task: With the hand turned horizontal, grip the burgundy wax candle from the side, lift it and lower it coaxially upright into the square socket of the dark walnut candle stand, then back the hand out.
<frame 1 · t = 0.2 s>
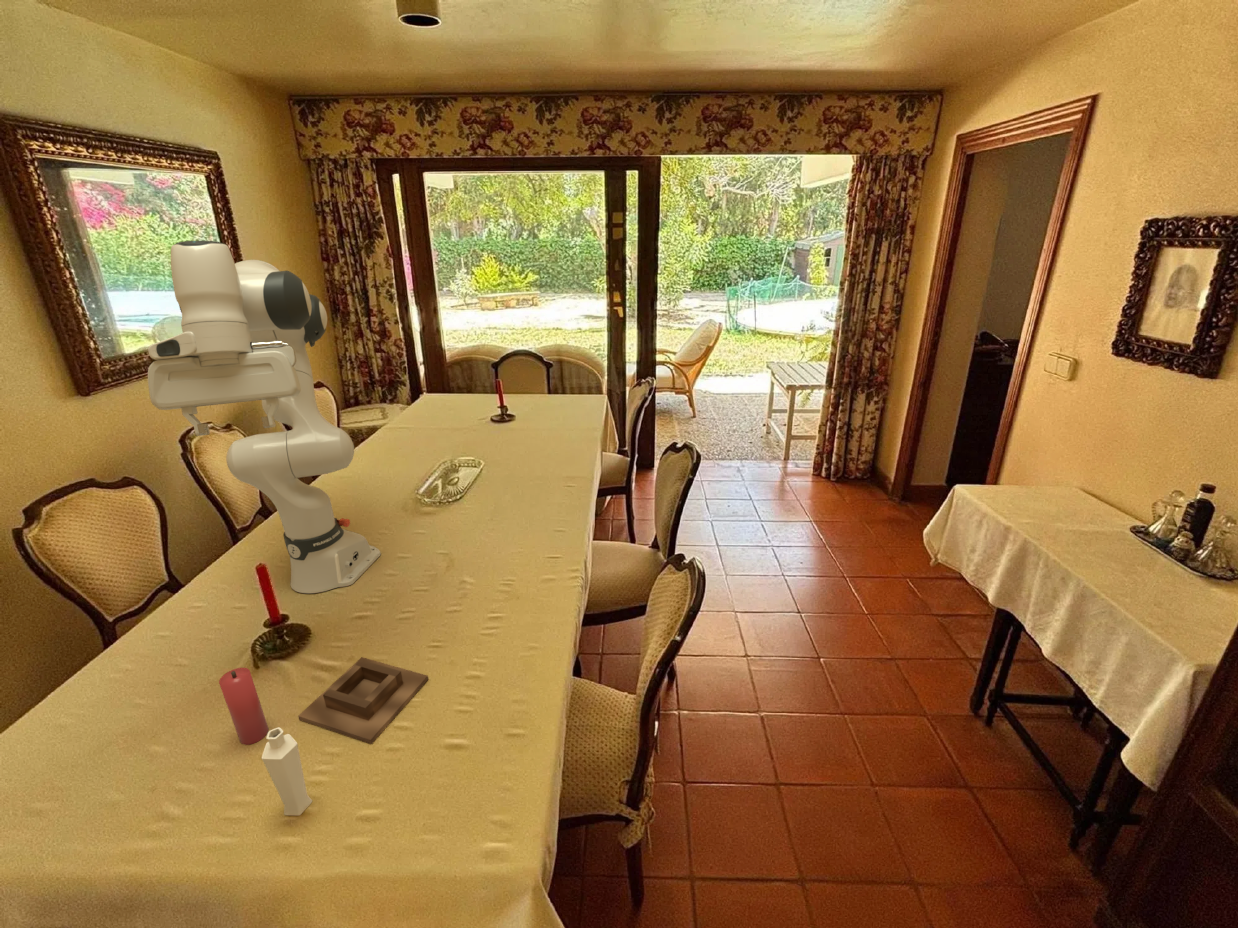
hand: (236, 431, 93), 52 cm above the table, tool tilted 20°, fingers open, 8 cm apart
perfume bottle: (296, 806, 89), on the table
walnut stand: (366, 698, 109), on the table
burgundy candle: (254, 734, 101), on the table
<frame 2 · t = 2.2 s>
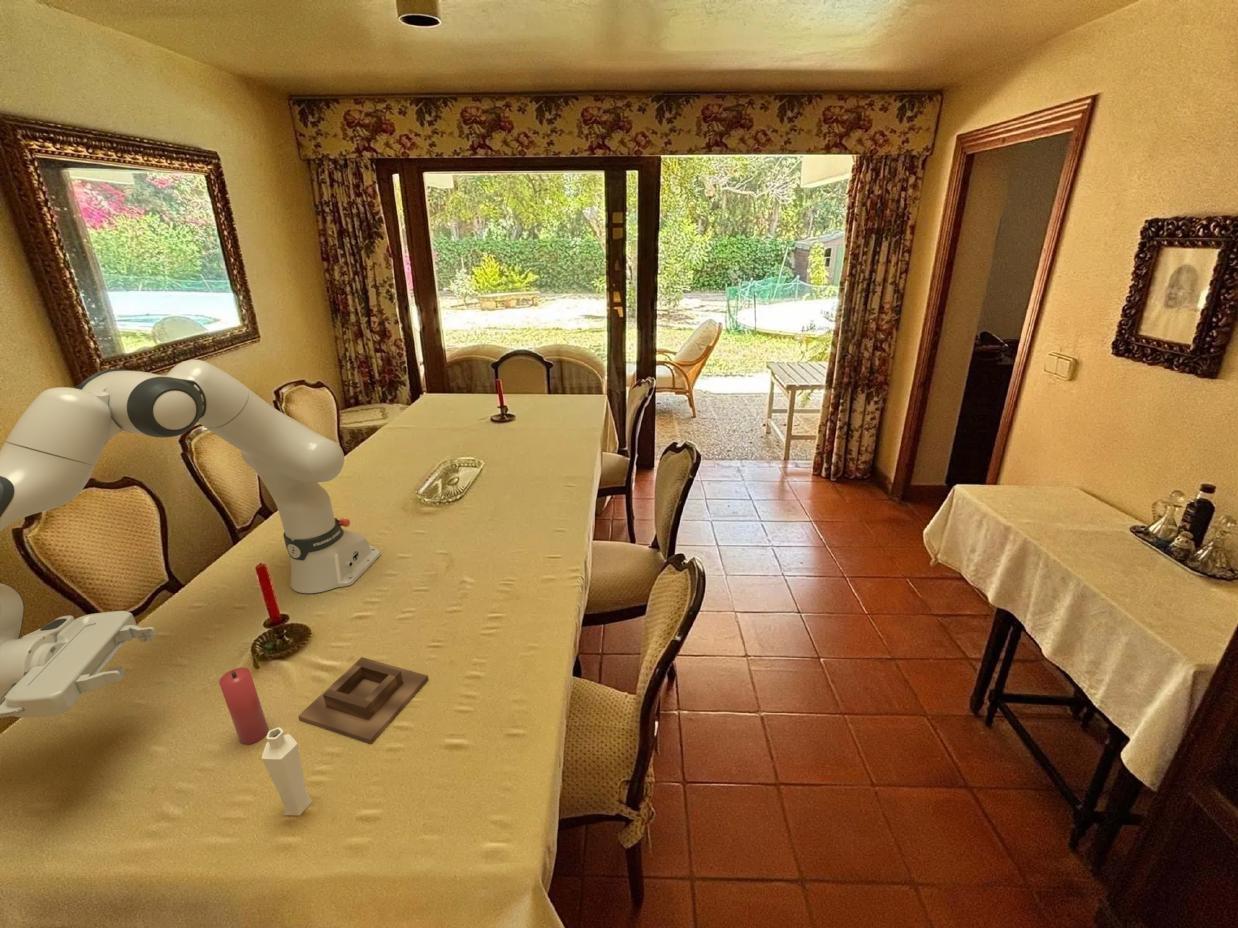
hand: (138, 652, 91), 21 cm above the table, tool horizontal, fingers open, 8 cm apart
nothing on the table moved.
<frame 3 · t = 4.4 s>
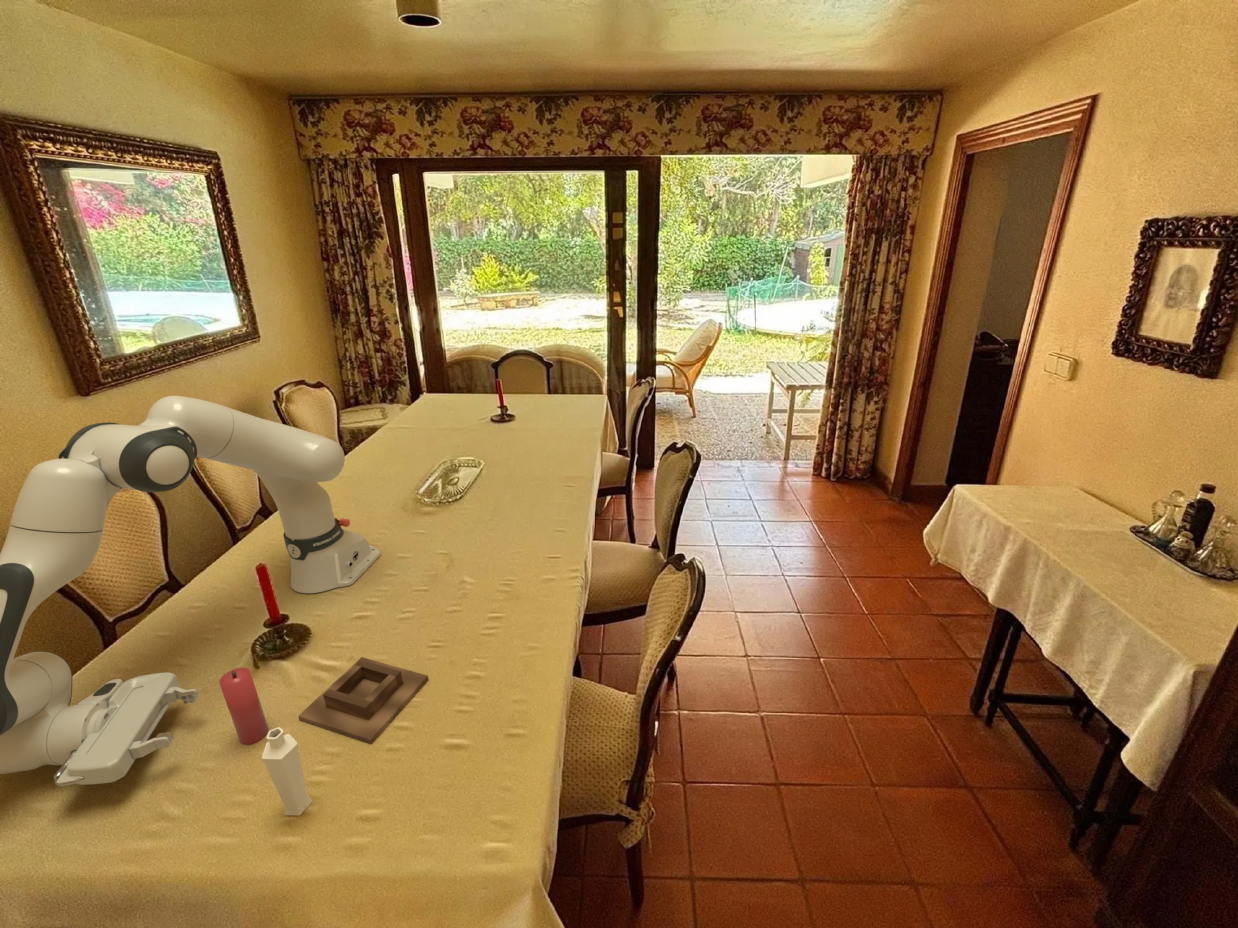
hand: (183, 716, 97), 6 cm above the table, tool horizontal, fingers open, 8 cm apart
nothing on the table moved.
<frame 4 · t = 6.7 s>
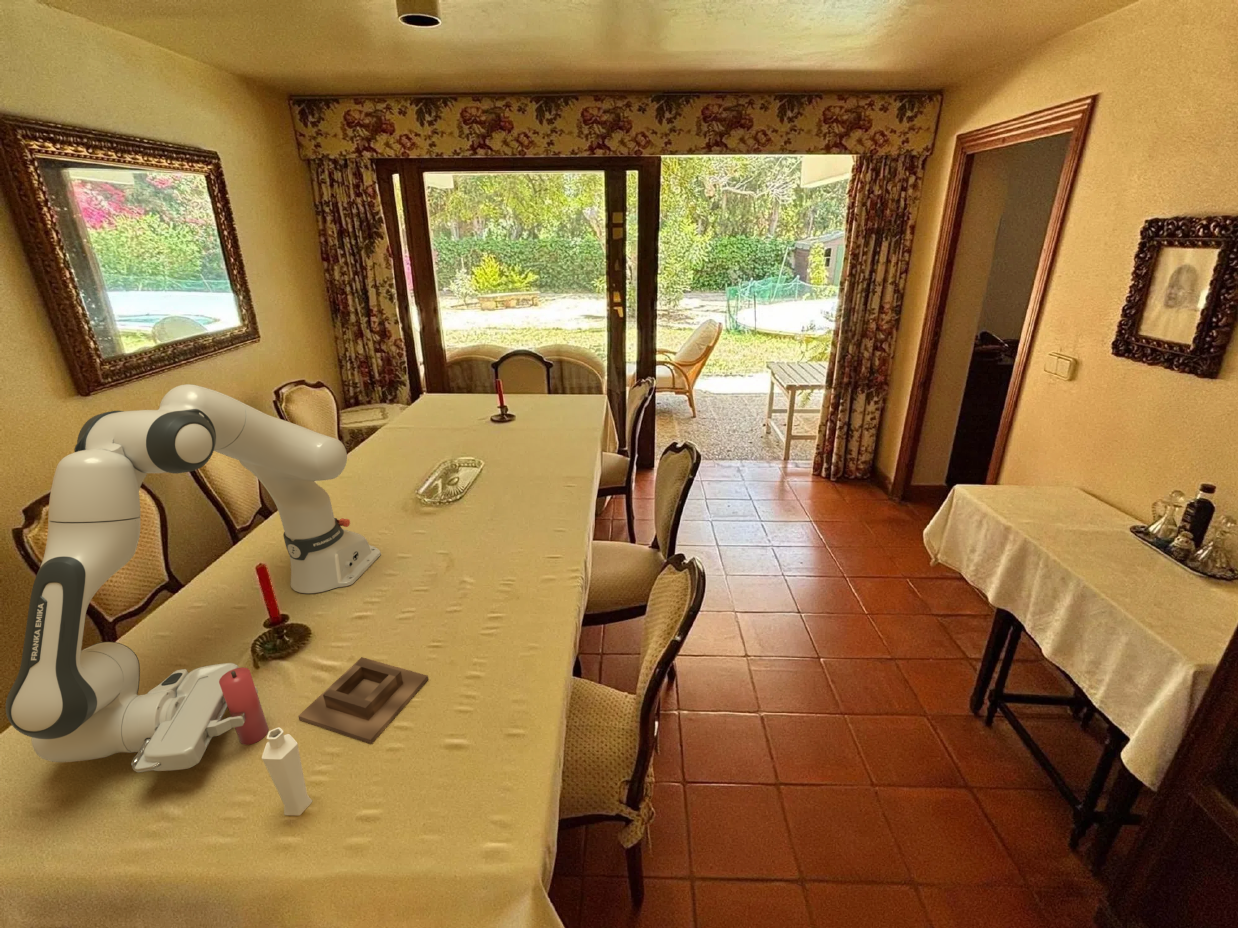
hand: (250, 705, 99), 7 cm above the table, tool horizontal, fingers closed on burgundy candle, 4 cm apart
burgundy candle: (254, 734, 101), on the table, touching gripper
everything else where it was.
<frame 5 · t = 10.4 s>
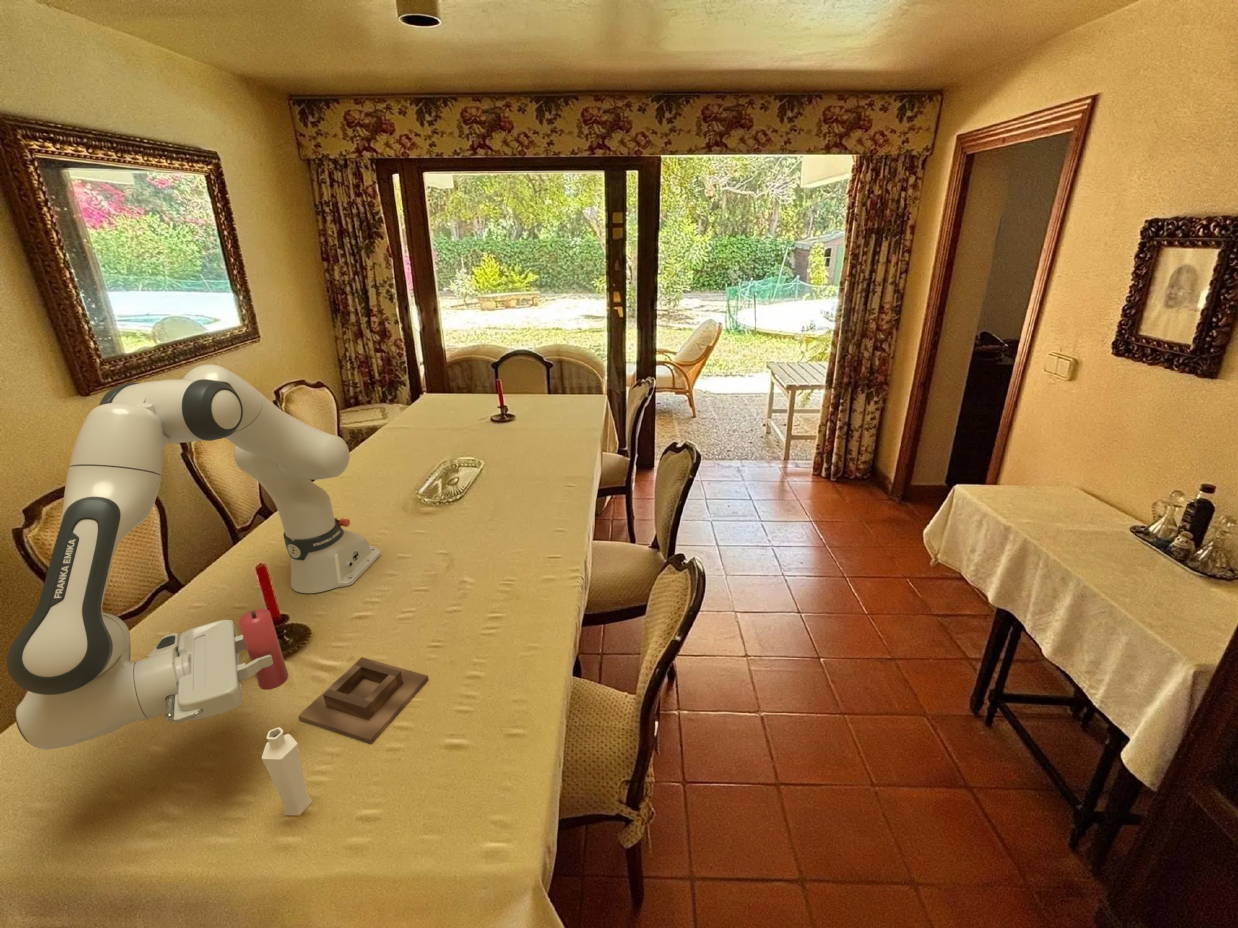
hand: (270, 647, 95), 18 cm above the table, tool horizontal, fingers closed on burgundy candle, 4 cm apart
burgundy candle: (273, 679, 97), point 12 cm above the table, touching gripper
everything else where it was.
when the fingers open (9 cm above the table, at t = 14.4 s): burgundy candle drops 1 cm, resting on walnut stand.
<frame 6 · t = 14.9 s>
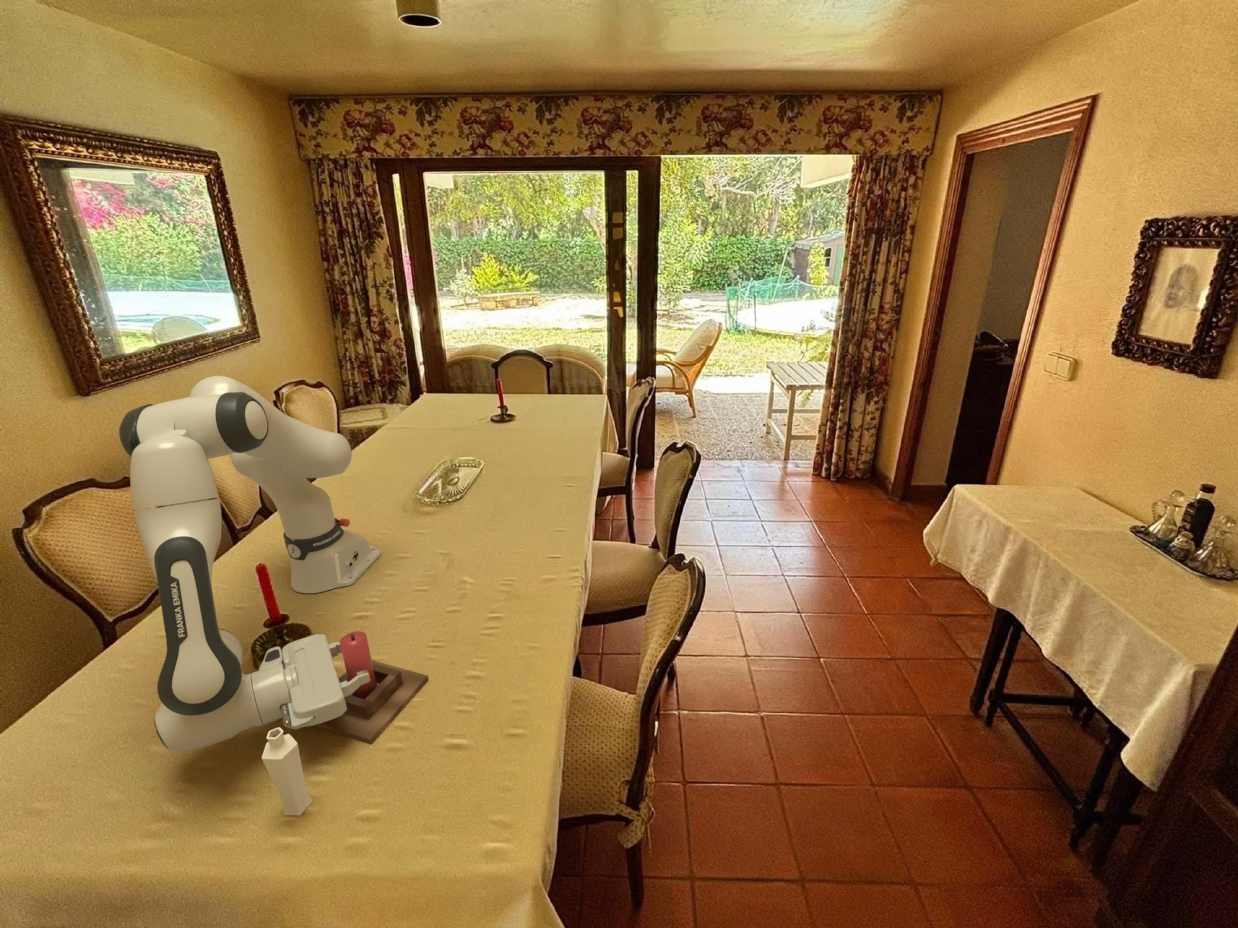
hand: (363, 659, 106), 9 cm above the table, tool horizontal, fingers open, 8 cm apart
burgundy candle: (365, 694, 108), point 1 cm above the table, touching walnut stand
everything else where it was.
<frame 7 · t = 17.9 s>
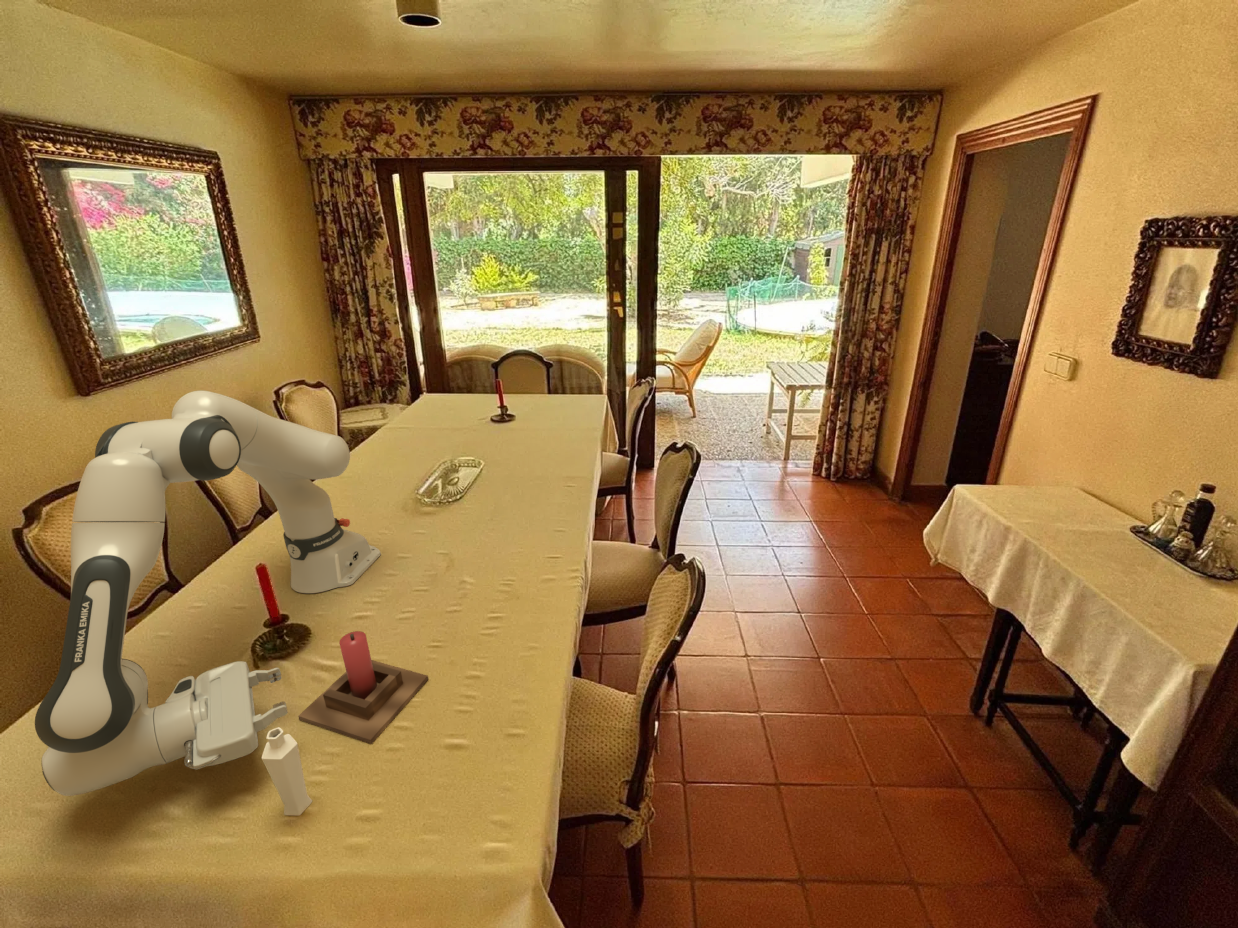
hand: (283, 689, 99), 9 cm above the table, tool horizontal, fingers open, 8 cm apart
nothing on the table moved.
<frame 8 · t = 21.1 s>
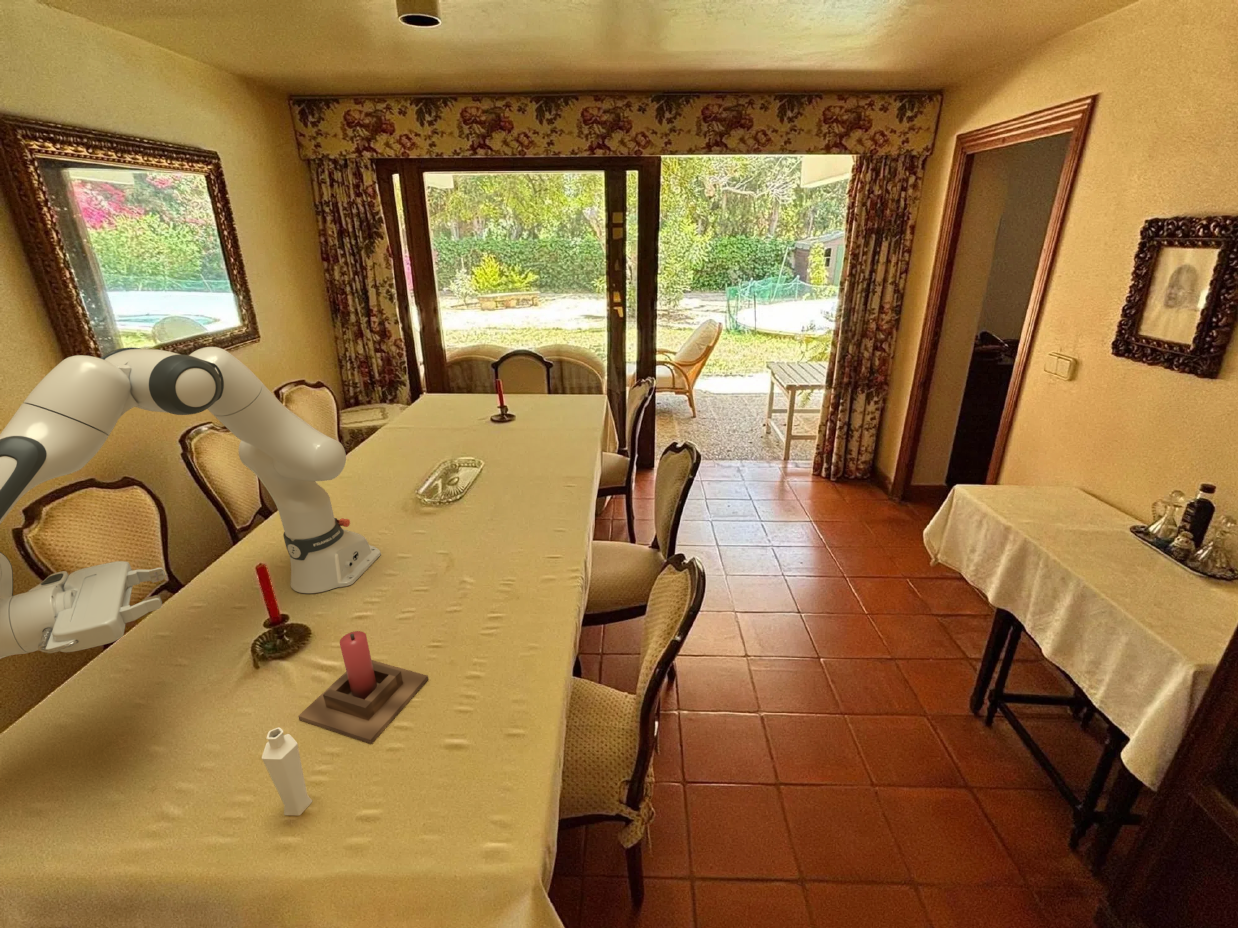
hand: (162, 586, 94), 28 cm above the table, tool horizontal, fingers open, 8 cm apart
nothing on the table moved.
at the end: burgundy candle 0.1 cm off-centre on the walnut stand, point 1.0 cm above the walnut stand's base; burgundy candle tilted 0°; the gripper is holding nothing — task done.
